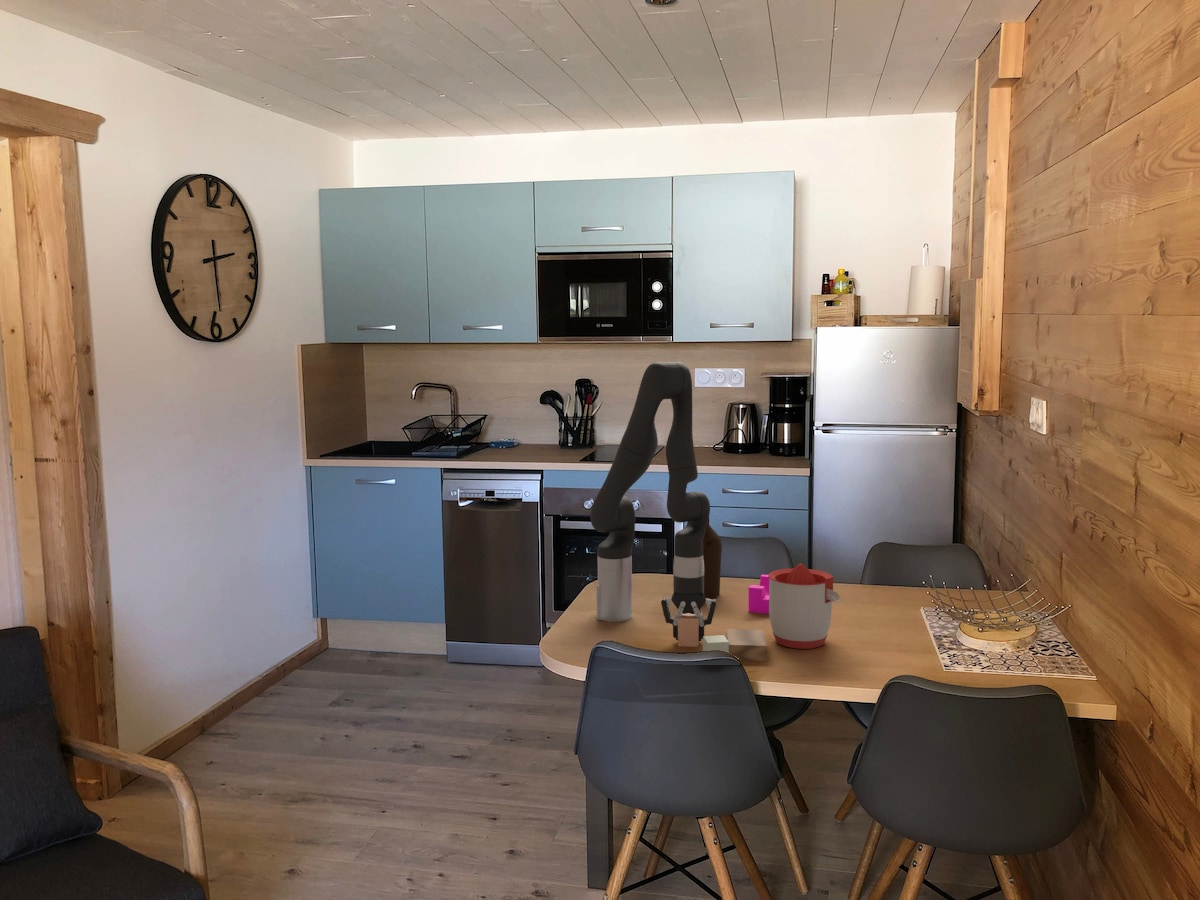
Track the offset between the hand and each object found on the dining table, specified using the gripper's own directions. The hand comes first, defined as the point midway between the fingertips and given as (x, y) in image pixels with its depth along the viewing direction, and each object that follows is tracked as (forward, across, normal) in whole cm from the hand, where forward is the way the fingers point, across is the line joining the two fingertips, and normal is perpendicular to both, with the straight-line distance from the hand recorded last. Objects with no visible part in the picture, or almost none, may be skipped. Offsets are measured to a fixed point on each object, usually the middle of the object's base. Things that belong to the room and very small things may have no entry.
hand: (688, 639), depth 235 cm
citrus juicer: (+1, +28, +3) cm, 28 cm away
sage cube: (+1, +7, -11) cm, 13 cm away
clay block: (+1, 0, 0) cm, 1 cm away
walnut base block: (+1, +14, -5) cm, 15 cm away
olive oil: (+1, +2, +43) cm, 43 cm away
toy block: (+1, +20, +34) cm, 39 cm away
